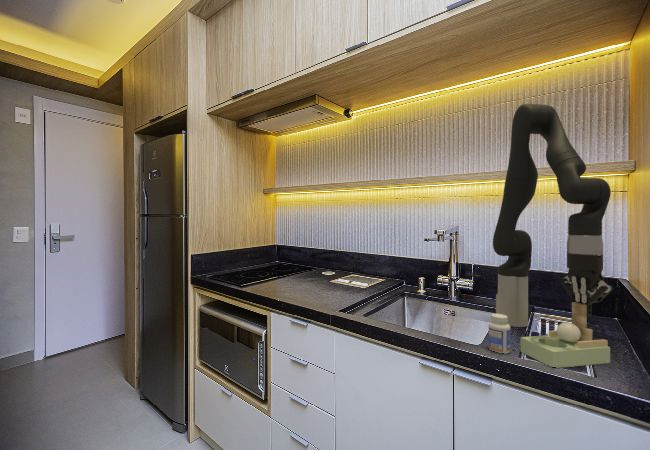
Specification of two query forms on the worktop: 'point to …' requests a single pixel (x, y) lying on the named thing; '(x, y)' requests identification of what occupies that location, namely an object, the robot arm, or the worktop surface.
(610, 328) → the worktop surface
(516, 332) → the worktop surface
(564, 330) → the ball
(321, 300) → the worktop surface
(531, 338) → the green tray
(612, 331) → the worktop surface
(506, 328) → the pill bottle
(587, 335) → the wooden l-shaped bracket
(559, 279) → the robot arm
